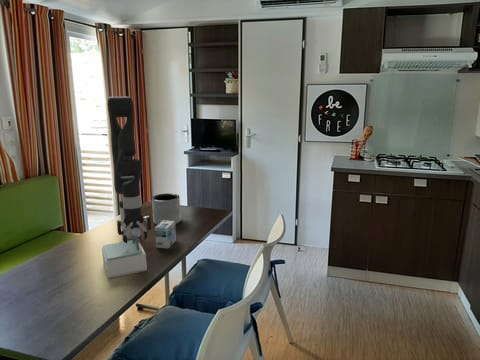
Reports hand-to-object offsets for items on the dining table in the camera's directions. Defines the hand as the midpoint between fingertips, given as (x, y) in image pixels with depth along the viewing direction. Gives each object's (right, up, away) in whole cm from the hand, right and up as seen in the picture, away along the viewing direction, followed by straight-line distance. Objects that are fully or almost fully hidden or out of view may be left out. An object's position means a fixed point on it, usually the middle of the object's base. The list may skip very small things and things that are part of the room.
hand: (135, 240), depth 159 cm
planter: (+3, +2, +55) cm, 55 cm away
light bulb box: (+9, -6, +24) cm, 26 cm away
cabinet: (-5, -12, 0) cm, 12 cm away
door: (-5, -4, -2) cm, 7 cm away
